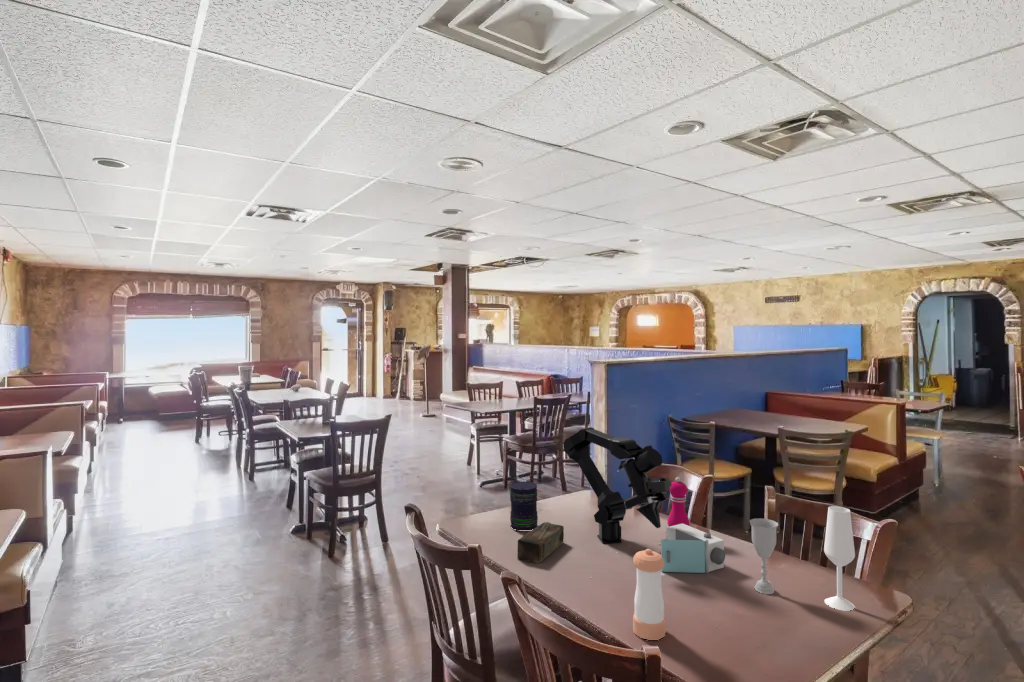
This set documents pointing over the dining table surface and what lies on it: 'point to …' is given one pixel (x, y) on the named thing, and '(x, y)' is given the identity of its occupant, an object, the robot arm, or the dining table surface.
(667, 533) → the case
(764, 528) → the chalice
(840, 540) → the champagne flute
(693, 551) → the hatch
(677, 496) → the pepper mill
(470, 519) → the dining table surface
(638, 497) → the robot arm
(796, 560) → the dining table surface
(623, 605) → the dining table surface
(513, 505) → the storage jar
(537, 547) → the beverage carton
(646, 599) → the salt shaker
